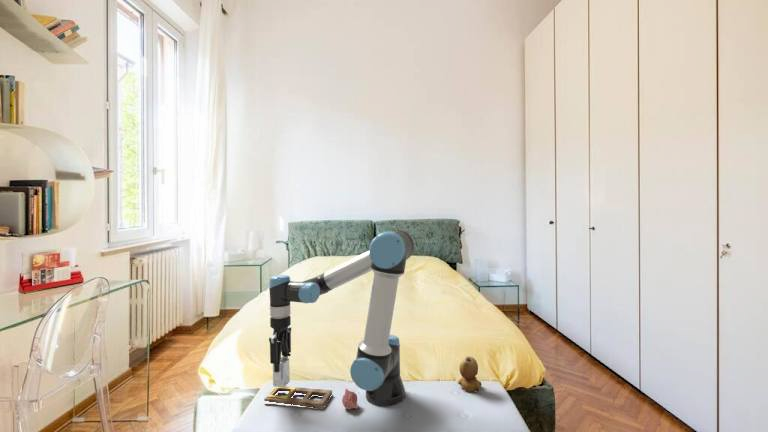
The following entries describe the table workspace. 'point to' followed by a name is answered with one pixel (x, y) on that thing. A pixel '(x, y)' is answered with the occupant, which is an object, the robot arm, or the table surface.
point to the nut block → (283, 374)
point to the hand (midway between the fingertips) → (281, 376)
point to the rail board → (297, 401)
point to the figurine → (469, 375)
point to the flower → (349, 400)
